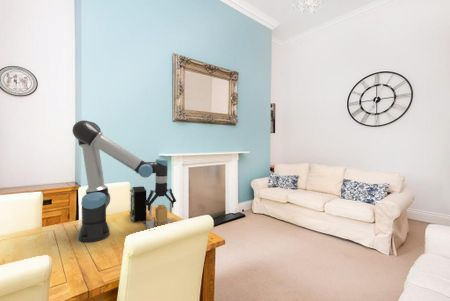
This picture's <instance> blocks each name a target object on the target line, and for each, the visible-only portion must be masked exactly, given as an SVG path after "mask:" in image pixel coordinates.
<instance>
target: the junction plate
mask: <svg viewBox="0 0 450 301" xmlns="http://www.w3.org/2000/svg"><path fill="white" fill-rule="evenodd" d="M142 223H143V225H144V226H145V227H146V229H147V230H148V229H150V228H154V227H157V226H161V225H165V224H168V223H174V222H173V221H171V220H170V218H168V217H167V221H164V222H159V223H158V222H157V226H154V219H152V220H146V221H142Z"/></svg>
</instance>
